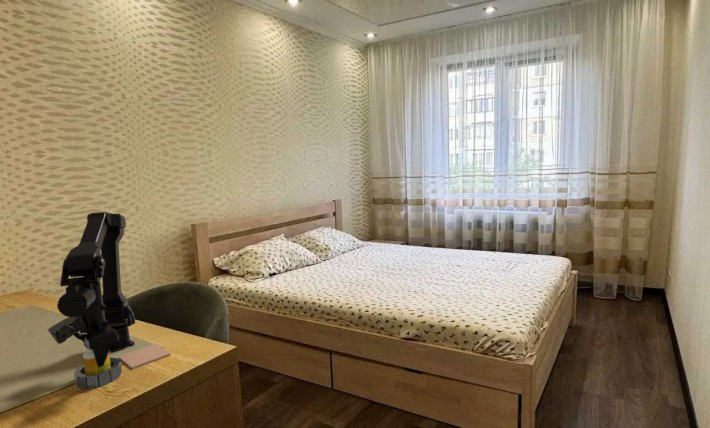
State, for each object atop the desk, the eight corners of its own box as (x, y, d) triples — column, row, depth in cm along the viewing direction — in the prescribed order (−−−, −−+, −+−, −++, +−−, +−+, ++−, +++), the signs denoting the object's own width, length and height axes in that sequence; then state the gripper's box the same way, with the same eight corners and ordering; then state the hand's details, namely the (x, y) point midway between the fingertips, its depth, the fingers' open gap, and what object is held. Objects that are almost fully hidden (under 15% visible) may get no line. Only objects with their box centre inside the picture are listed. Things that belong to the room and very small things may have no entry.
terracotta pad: (118, 358, 113) (118, 356, 113) (156, 345, 120) (155, 343, 120) (132, 369, 106) (131, 367, 106) (170, 354, 114) (170, 353, 114)
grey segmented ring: (71, 380, 102) (70, 368, 102) (114, 364, 109) (112, 354, 109) (82, 393, 96) (80, 381, 95) (126, 376, 103) (125, 365, 102)
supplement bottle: (99, 384, 99) (94, 346, 98) (81, 383, 101) (75, 345, 99) (116, 373, 105) (112, 337, 103) (98, 372, 106) (94, 336, 105)
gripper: (40, 304, 101) (49, 364, 103) (59, 322, 88) (68, 389, 90) (92, 292, 109) (99, 348, 111) (115, 307, 96) (123, 369, 98)
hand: (97, 363), depth 102 cm, fingers closed on supplement bottle, 5 cm apart
